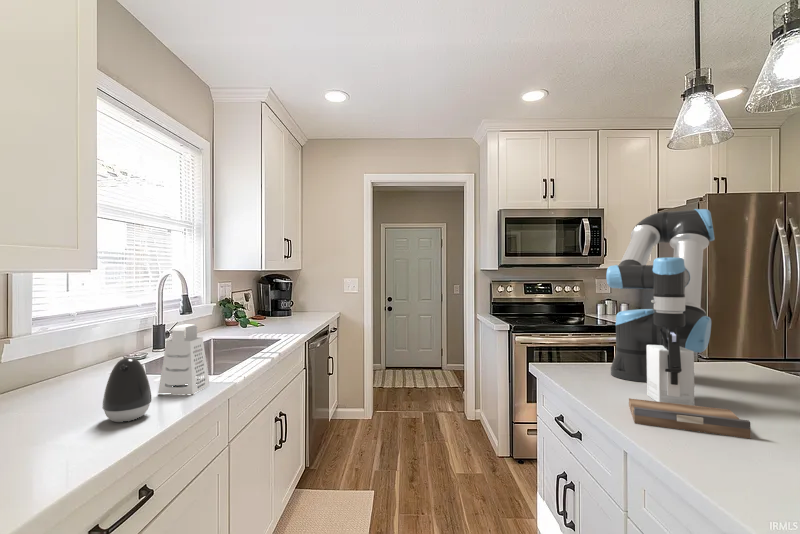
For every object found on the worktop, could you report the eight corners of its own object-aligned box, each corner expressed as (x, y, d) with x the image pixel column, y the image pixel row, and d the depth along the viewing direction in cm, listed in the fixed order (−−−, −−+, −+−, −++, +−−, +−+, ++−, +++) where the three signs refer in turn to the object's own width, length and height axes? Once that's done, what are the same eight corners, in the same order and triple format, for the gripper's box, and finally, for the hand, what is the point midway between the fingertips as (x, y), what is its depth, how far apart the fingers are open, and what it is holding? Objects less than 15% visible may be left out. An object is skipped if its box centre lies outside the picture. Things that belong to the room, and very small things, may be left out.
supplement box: (695, 406, 110) (695, 351, 110) (659, 404, 112) (658, 349, 112) (680, 396, 119) (679, 345, 119) (646, 394, 120) (645, 344, 121)
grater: (209, 385, 132) (210, 323, 132) (192, 395, 121) (192, 328, 121) (177, 385, 132) (178, 323, 132) (157, 395, 121) (158, 327, 122)
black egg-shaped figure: (96, 429, 95) (96, 363, 95) (109, 414, 105) (109, 355, 105) (146, 423, 99) (147, 360, 99) (154, 409, 108) (155, 352, 109)
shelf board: (628, 405, 111) (628, 392, 111) (729, 417, 101) (729, 403, 102) (634, 423, 98) (634, 408, 98) (751, 439, 88) (750, 422, 89)
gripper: (648, 308, 127) (648, 379, 127) (660, 315, 107) (661, 400, 106) (676, 309, 124) (677, 382, 124) (694, 316, 104) (695, 404, 103)
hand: (669, 390), depth 115 cm, fingers closed on supplement box, 10 cm apart
